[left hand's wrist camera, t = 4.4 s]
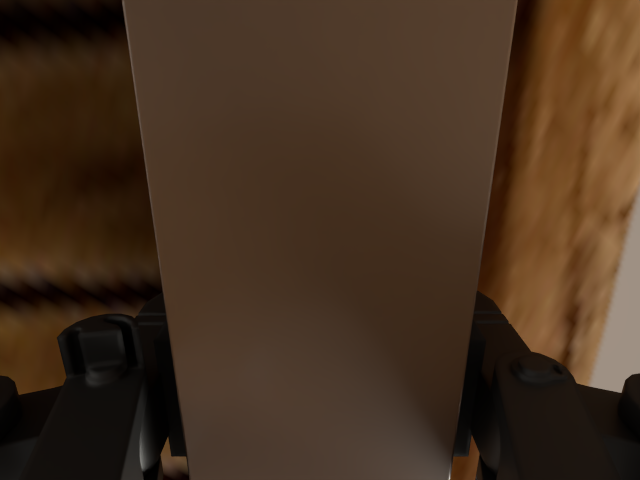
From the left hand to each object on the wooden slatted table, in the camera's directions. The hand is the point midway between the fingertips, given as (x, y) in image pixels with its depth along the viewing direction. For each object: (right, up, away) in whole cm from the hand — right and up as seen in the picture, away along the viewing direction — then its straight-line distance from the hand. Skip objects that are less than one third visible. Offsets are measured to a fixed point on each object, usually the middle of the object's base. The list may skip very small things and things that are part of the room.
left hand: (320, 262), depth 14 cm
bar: (0, +26, -9) cm, 27 cm away
